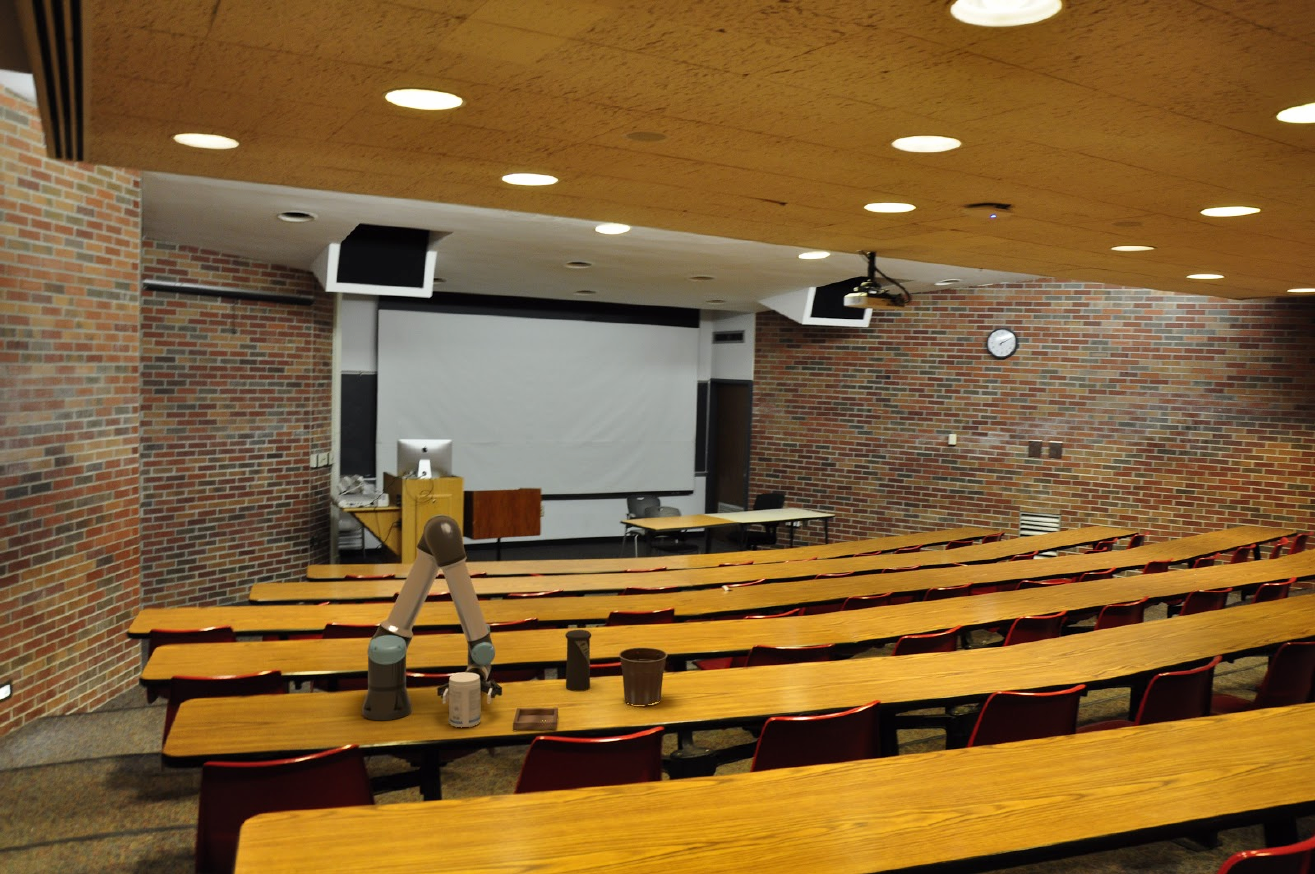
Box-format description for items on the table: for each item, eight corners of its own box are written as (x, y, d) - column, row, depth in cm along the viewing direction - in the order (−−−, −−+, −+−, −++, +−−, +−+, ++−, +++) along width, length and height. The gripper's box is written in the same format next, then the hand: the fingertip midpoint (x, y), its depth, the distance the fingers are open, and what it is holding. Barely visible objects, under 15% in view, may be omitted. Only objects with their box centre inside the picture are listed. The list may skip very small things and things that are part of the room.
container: (586, 692, 319) (587, 635, 318) (561, 690, 321) (562, 633, 320) (593, 685, 327) (594, 629, 326) (569, 683, 329) (569, 627, 328)
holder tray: (513, 730, 281) (513, 722, 281) (517, 716, 294) (517, 708, 294) (556, 730, 282) (556, 722, 282) (558, 715, 295) (558, 708, 295)
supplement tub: (477, 716, 293) (478, 671, 292) (482, 727, 284) (483, 679, 284) (446, 720, 290) (447, 673, 289) (450, 730, 281) (451, 682, 280)
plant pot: (657, 712, 300) (658, 663, 299) (611, 706, 305) (611, 658, 304) (672, 697, 315) (673, 650, 315) (628, 691, 320) (628, 645, 320)
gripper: (512, 689, 308) (507, 711, 287) (436, 689, 306) (425, 711, 285) (513, 667, 307) (507, 687, 286) (436, 667, 306) (425, 687, 284)
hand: (466, 699), depth 285 cm, fingers open, 13 cm apart
